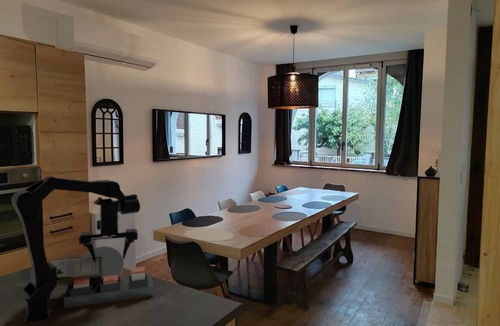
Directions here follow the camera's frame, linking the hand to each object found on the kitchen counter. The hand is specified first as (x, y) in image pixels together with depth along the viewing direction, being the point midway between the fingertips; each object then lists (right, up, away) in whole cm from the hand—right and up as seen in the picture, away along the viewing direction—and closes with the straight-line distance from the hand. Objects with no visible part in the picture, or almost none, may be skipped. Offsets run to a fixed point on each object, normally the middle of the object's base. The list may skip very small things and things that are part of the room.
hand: (109, 260), depth 124 cm
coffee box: (-19, -4, -4) cm, 19 cm away
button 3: (-7, -8, -6) cm, 12 cm away
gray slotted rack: (+1, -12, -1) cm, 12 cm away
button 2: (+1, -8, -2) cm, 9 cm away
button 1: (+10, -6, +1) cm, 12 cm away
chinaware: (-7, -8, +13) cm, 17 cm away
